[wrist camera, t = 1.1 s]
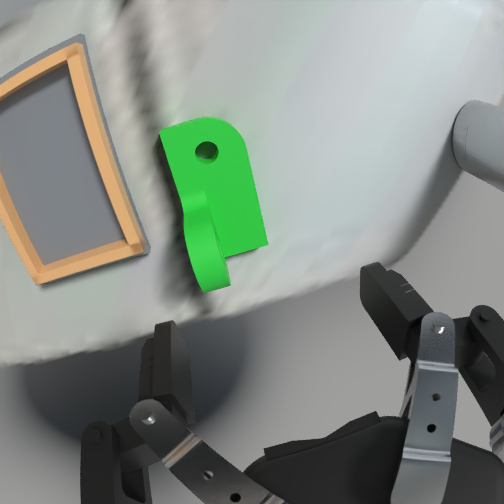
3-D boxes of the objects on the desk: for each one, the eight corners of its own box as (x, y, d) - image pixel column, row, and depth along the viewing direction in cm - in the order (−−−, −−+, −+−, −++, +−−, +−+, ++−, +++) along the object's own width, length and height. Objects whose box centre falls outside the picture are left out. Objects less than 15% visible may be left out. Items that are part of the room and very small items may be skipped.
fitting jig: (84, 35, 17) (74, 31, 15) (150, 247, 28) (148, 261, 25) (-24, 98, 16) (-39, 101, 14) (49, 278, 27) (41, 293, 25)
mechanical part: (263, 234, 30) (287, 284, 23) (201, 252, 29) (208, 307, 22) (233, 108, 23) (253, 118, 16) (161, 129, 23) (149, 148, 16)
